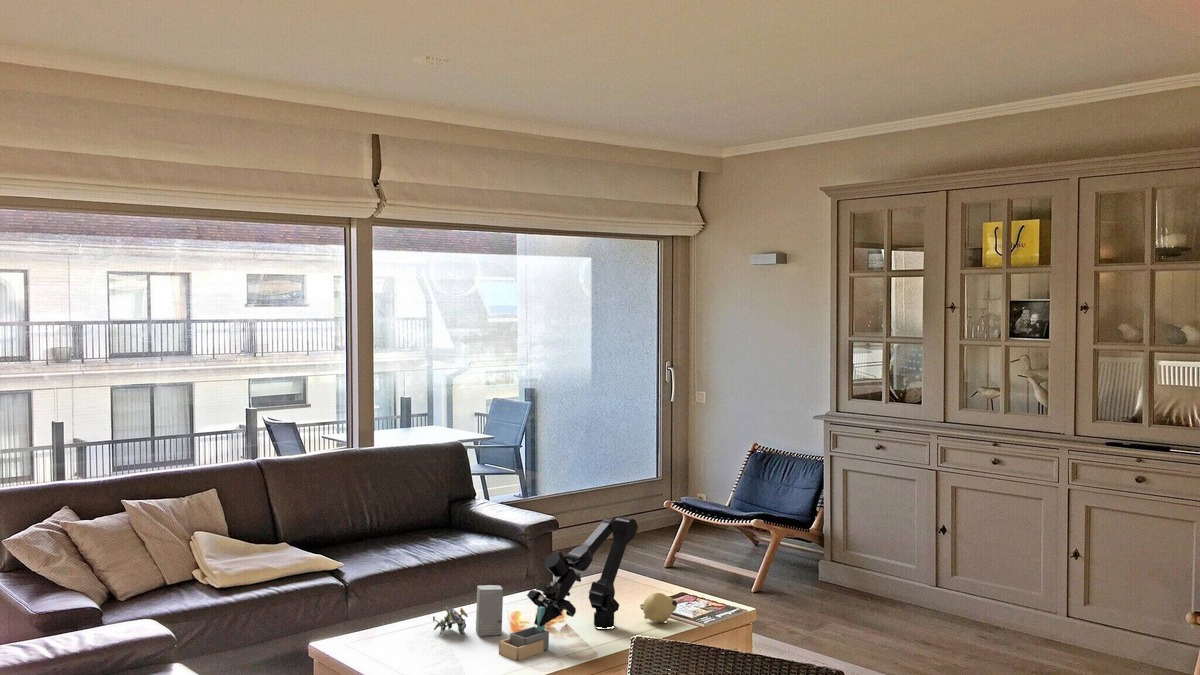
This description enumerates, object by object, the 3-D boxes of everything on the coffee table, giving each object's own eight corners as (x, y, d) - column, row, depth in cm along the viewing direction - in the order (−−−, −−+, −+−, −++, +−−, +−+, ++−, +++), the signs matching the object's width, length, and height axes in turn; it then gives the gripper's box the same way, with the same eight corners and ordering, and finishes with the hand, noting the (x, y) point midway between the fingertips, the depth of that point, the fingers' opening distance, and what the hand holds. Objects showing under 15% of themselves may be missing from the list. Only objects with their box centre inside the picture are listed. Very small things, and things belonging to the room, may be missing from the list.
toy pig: (681, 623, 344) (681, 593, 344) (654, 629, 337) (654, 598, 337) (664, 616, 352) (665, 586, 352) (637, 621, 345) (638, 591, 345)
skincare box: (478, 637, 326) (478, 590, 326) (475, 630, 333) (475, 584, 333) (503, 635, 328) (503, 588, 328) (499, 628, 335) (500, 583, 335)
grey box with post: (535, 642, 320) (535, 604, 320) (550, 648, 315) (550, 609, 315) (510, 650, 312) (510, 611, 312) (524, 656, 307) (525, 616, 307)
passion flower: (462, 650, 329) (472, 627, 323) (430, 648, 325) (441, 624, 319) (458, 623, 338) (469, 600, 332) (428, 620, 334) (438, 597, 328)
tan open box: (524, 645, 318) (525, 633, 318) (543, 652, 312) (543, 640, 312) (498, 653, 310) (499, 641, 310) (517, 660, 304) (517, 648, 304)
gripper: (531, 565, 326) (505, 604, 318) (570, 576, 313) (544, 617, 305) (548, 584, 332) (523, 623, 324) (587, 596, 319) (562, 637, 311)
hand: (537, 625), depth 316 cm, fingers closed on grey box with post, 2 cm apart
